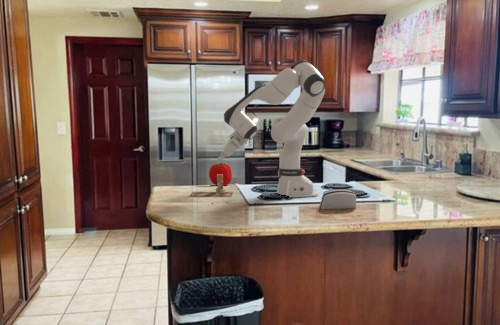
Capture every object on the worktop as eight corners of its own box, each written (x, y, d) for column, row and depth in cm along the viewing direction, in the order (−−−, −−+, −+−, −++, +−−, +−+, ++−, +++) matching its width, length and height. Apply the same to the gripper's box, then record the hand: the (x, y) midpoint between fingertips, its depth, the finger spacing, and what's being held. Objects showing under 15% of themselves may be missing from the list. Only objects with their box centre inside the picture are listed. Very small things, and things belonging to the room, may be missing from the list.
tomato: (231, 187, 249) (230, 164, 247) (207, 187, 249) (207, 164, 247) (232, 182, 264) (232, 160, 263) (210, 182, 265) (210, 161, 263)
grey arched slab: (352, 205, 204) (355, 187, 199) (355, 211, 200) (359, 192, 195) (318, 206, 202) (320, 188, 198) (321, 212, 198) (323, 193, 194)
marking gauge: (224, 192, 229) (224, 173, 228) (224, 194, 223) (224, 175, 222) (216, 192, 229) (215, 173, 227) (216, 194, 223) (215, 175, 221)
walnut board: (233, 194, 230) (233, 191, 230) (231, 199, 217) (231, 196, 217) (192, 194, 231) (192, 191, 230) (188, 199, 218) (188, 196, 217)
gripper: (232, 134, 233) (214, 152, 234) (233, 137, 213) (213, 157, 214) (240, 142, 234) (222, 160, 235) (242, 146, 214) (222, 166, 215)
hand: (218, 159), depth 224 cm, fingers open, 8 cm apart
